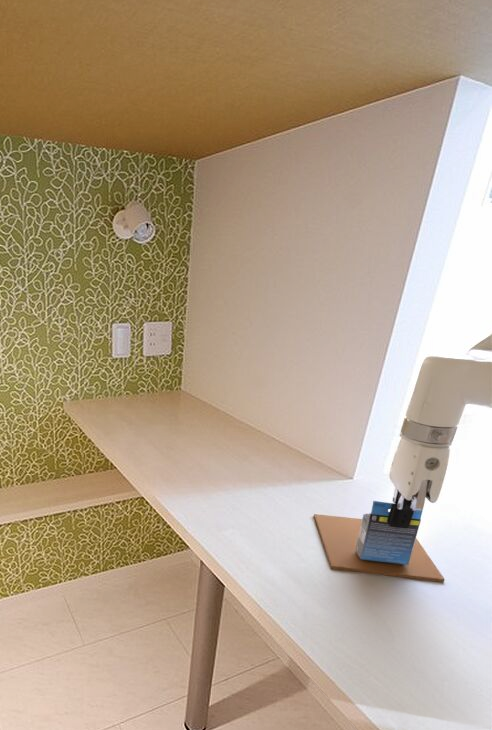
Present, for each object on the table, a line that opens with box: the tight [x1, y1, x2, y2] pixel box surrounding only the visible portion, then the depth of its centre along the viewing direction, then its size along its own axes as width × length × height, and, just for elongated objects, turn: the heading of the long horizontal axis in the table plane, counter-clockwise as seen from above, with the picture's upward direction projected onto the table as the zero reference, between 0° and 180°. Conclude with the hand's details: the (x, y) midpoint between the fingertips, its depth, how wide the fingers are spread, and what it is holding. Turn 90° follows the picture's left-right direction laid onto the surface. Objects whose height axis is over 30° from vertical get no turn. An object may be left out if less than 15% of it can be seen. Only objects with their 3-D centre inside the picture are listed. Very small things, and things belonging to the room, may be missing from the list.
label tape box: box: [356, 500, 424, 565], centre depth 84 cm, size 9×4×12 cm, turn 78°
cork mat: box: [313, 513, 446, 583], centre depth 91 cm, size 20×20×1 cm
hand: (397, 525), depth 79 cm, fingers closed
